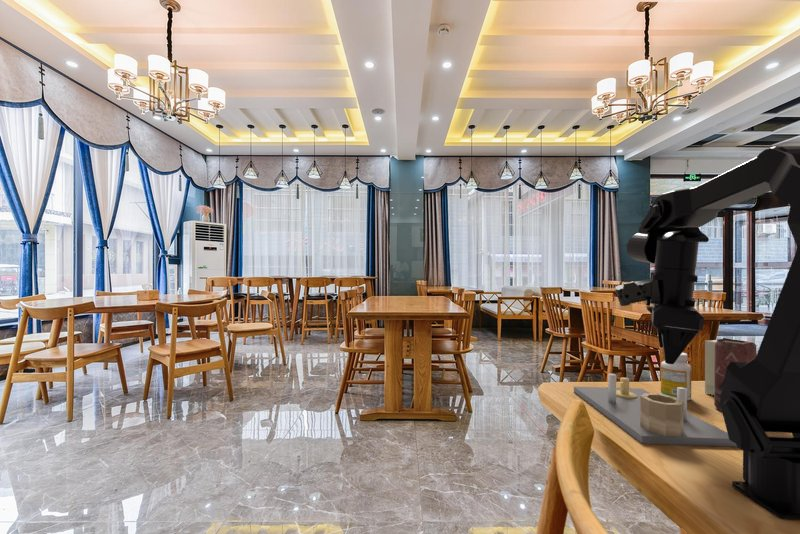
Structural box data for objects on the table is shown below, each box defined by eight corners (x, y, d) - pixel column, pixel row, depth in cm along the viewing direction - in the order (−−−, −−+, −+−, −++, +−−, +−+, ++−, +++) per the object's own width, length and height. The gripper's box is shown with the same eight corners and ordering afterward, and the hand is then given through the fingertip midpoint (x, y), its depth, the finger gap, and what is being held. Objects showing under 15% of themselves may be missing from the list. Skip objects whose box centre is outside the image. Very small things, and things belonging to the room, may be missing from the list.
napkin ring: (690, 436, 58) (691, 405, 59) (655, 435, 59) (655, 404, 59) (666, 422, 64) (667, 393, 64) (634, 421, 64) (634, 392, 64)
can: (766, 419, 69) (766, 344, 69) (727, 415, 71) (727, 342, 71) (743, 407, 75) (743, 339, 75) (707, 404, 77) (708, 337, 77)
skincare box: (725, 400, 80) (725, 343, 80) (703, 393, 84) (703, 340, 84) (745, 397, 81) (746, 342, 81) (723, 391, 86) (723, 339, 86)
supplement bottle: (673, 392, 84) (673, 349, 85) (697, 400, 79) (697, 355, 79) (654, 393, 83) (655, 350, 83) (678, 402, 78) (678, 356, 78)
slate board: (739, 446, 58) (739, 404, 58) (641, 443, 59) (642, 401, 59) (641, 393, 83) (641, 364, 83) (573, 391, 84) (574, 362, 84)
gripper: (619, 260, 75) (613, 334, 77) (620, 270, 59) (613, 363, 61) (688, 263, 69) (679, 343, 71) (709, 275, 53) (698, 378, 55)
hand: (665, 355), depth 65 cm, fingers open, 9 cm apart
